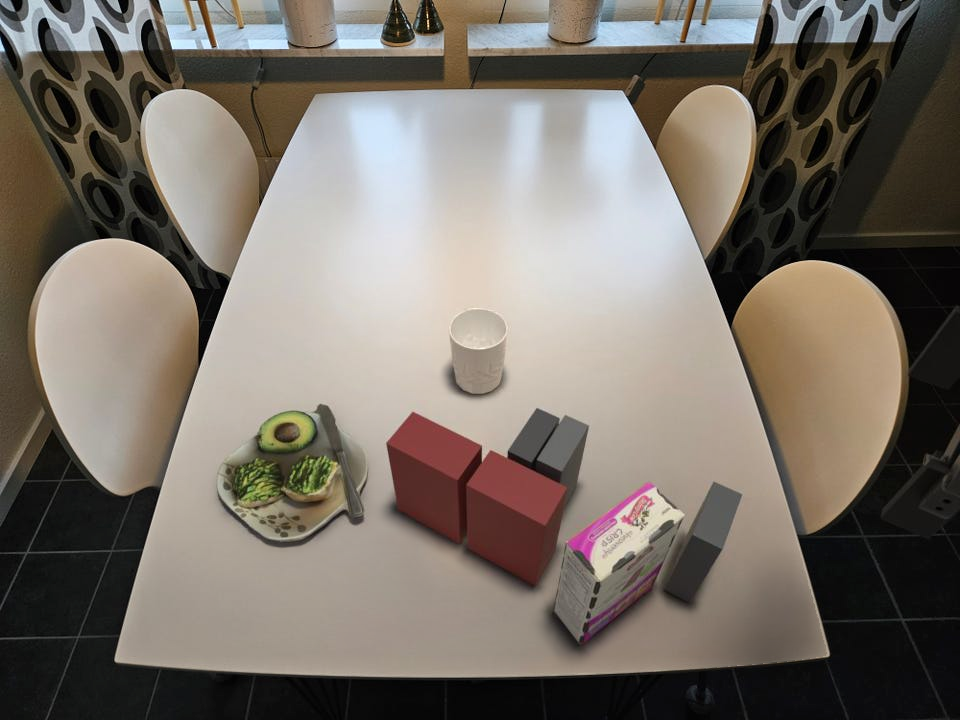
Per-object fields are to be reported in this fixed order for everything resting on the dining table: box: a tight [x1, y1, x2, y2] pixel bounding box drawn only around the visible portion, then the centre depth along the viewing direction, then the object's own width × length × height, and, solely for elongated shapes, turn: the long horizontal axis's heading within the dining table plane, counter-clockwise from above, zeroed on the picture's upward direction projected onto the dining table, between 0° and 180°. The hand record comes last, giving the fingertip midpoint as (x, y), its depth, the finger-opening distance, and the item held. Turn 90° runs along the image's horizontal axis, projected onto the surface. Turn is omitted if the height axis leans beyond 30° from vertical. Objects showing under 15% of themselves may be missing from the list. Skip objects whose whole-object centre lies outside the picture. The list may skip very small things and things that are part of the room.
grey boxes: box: [506, 407, 743, 604], centre depth 73 cm, size 7×24×13 cm, turn 59°
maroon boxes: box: [385, 411, 567, 587], centre depth 72 cm, size 5×19×14 cm, turn 59°
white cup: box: [448, 307, 509, 395], centre depth 90 cm, size 8×8×10 cm
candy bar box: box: [553, 481, 685, 646], centre depth 66 cm, size 11×5×16 cm, turn 126°
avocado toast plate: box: [216, 403, 369, 543], centre depth 80 cm, size 19×18×5 cm
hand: (917, 445), depth 44 cm, fingers open, 13 cm apart
